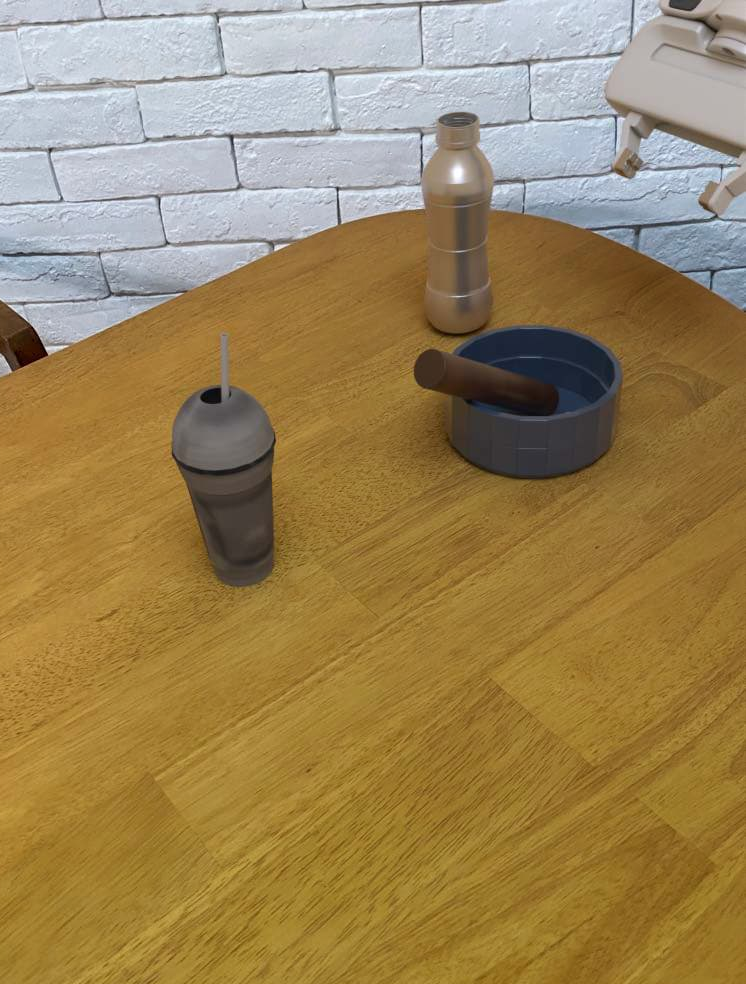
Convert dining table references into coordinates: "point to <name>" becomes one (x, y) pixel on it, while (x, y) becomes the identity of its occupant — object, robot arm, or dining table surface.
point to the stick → (484, 383)
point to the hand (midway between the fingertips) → (662, 191)
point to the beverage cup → (229, 476)
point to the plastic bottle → (458, 226)
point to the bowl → (539, 439)
